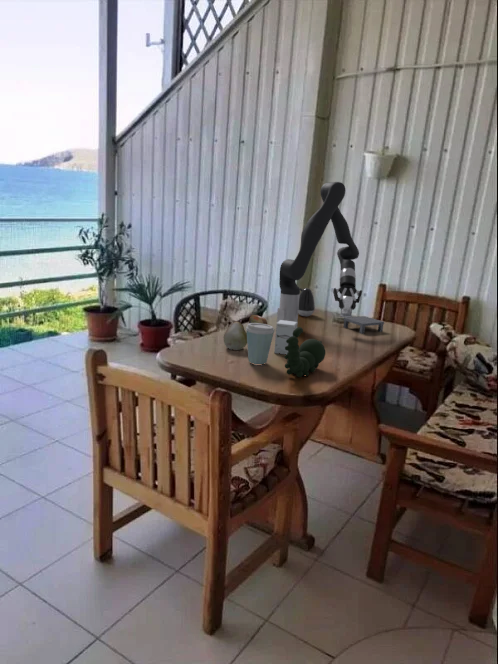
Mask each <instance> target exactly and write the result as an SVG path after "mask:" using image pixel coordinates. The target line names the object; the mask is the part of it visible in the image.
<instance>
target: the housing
mask: <svg viewBox="0 0 498 664" xmlns="http://www.w3.org/2000/svg"><path fill="white" fill-rule="evenodd" d="M353 298H354V297H353V296H347V295H344V296H343V299H342V309H341V310H340V314H339V316H340V317H342V318H347V317H348V318H350V317H353V314H352V312H353V310H352V306H353Z"/></svg>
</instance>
